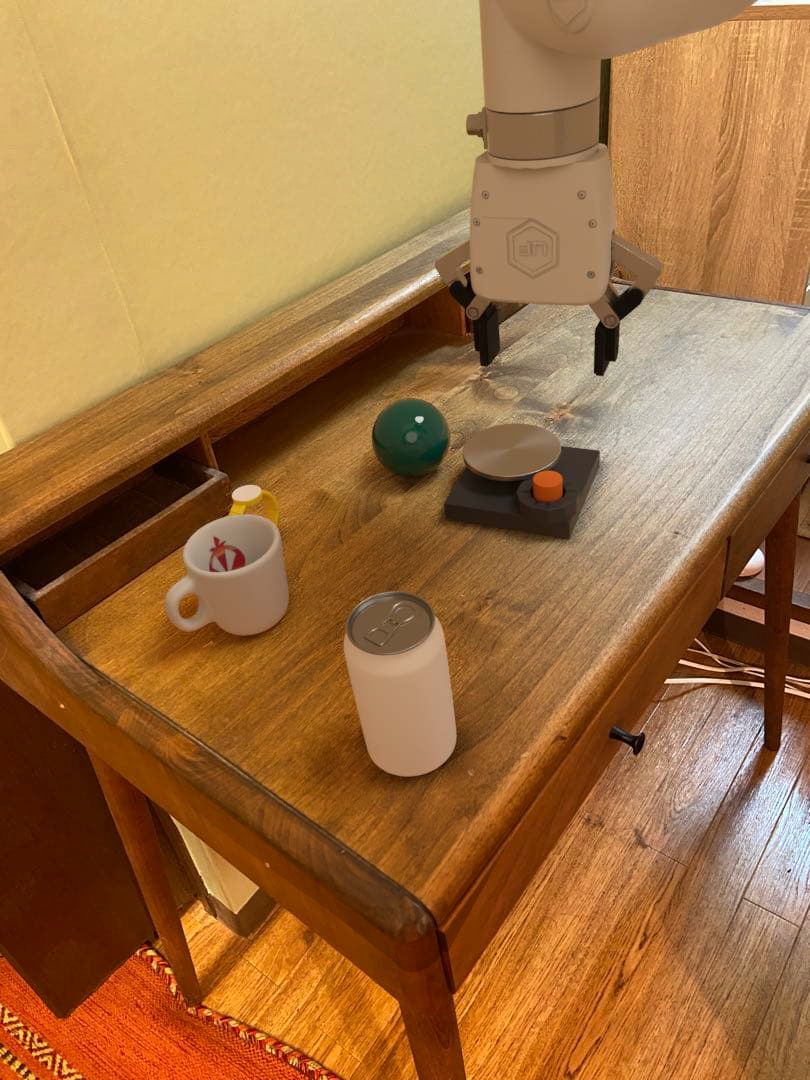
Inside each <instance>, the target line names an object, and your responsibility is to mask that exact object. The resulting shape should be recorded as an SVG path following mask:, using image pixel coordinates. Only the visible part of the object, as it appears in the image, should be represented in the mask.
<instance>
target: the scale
mask: <svg viewBox="0 0 810 1080" xmlns="http://www.w3.org/2000/svg"><path fill="white" fill-rule="evenodd" d="M600 459H601V450H598V449H591V448H580V447H573V446H566V445H565V446H564V445H561V456H560V459H559V461H558V462H557V464H556V465H555V466H554V467H553V468H552V469H550V470H549V471H555V472H557V473H559V474H560V475H561V476H562V478H563V494H562V497H561V498H560V499H559V500H557V501H552V502H544V501H538V500H536V499H535V498H534V496H533V478H530V479H526V480H520V481H496V480H491V479H487V478H484V477H481V476H479V475H477V474H475V473H473V472H472V471H471V470H470V469H469V468H468V467H467V466H466V467H465V468H464V469H463V471H462V473H461V474H460V476H459V478H458V480H456V482H455V485H454V486H453V488H452V489H451V491H450V493H449V494H448V496H447V498H446V499H445V501H444V502H443V509H444V511H443V512H444V519H445V520H448V521H453V522H460V523H465V524H473V525H480V526H486V527H491V528H496V529H497V528H498V529H505V530H509V531H515V532H516V531H517V532H523V533H528V534H529V533H530V534H536V535H542V536H549V537H554V538H561V539H566V540H570V539H571V536H572V534H573V532H574V529H575V527H576V525H577V522H578V520H579V517H580V515H581V512H582V510H583V508H584V505H585V502H586V500H587V497H588V496H589V492H590V490H591V488H592V486H593V483H594V481H595V478H596V476H597V474H598V471H599V469H600V462H601V461H600Z"/></svg>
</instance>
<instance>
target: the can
mask: <svg viewBox="0 0 810 1080" xmlns="http://www.w3.org/2000/svg"><path fill="white" fill-rule="evenodd" d="M435 614H436V613H435V610H434V608H433V606H432V605H431V604H430V603H429V602H428V600H427V599H425V598H424V597H422V596H421V595H418V594H416V593H413V592H410V591H405V590H388V591H382V592H379V593H375V594H373V595H370V596H368V597H366V598H365V599H363V600H361V601H360V602H358V603H357V604H356V605H355V606H354V607H353V608H352V610H351V611H350V612H349V614H348V616H347V618H346V620H345V621H346V622H345V635H344V637H343V638H344V639H343V652H344V658H345V663H346V666H347V667H346V668H347V671H348V676H349V679H350V684H351V688H352V693H353V697H354V701H355V705H356V709H357V713H358V718H359V722H360V726H361V730H362V734H363V738H364V742H365V745H366V750H367V753H368V756H369V757H370V759H371V761H372V762H373V763H374V764H375V765H376V766H377V767H378V768H379V769H381V770H382V771H384V772H386V773H388V774H390V775H395V776H399V777H418V776H421V775H422V776H423V775H425V774H429V773H431V772H432V771H435V770H436V769H438V768H439V767H442V765H443V764H444V763H445V762H446V761H448V759H449V758H450V757H451V755H452V754H453V752H454V749H455V747H456V744H457V738H458V737H457V725H456V715H455V707H454V701H453V691H452V684H451V677H450V667H449V662H448V661H449V660H448V653H447V646H446V640H445V633H444V629H443V626H442V624H441V622H440V620H439V619H438V617H437V616H436V615H435Z"/></svg>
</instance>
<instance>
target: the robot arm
mask: <svg viewBox="0 0 810 1080" xmlns="http://www.w3.org/2000/svg"><path fill="white" fill-rule="evenodd" d="M758 1H759V0H478V6H479V7H478V8H479V24H480V25H479V29H480V45H481V63H482V64H481V65H482V82H483V83H482V84H483V102H484V103H483V104H484V106H483V107H481V111H478V112H477V113H469V114H468V115H467V116H466V121H465V130H466V134H467V135H468V136H477V137H478V138H481V139H482V142H483V149H484V152H482V153H481V154H479V155H478V156H477V157H476V158H475V160H474V161H475V162H474V167H473V176H472V185H471V195H470V196H471V197H470V216H469V217H470V218H469V238H467V239H465V240H464V241H462V242H460V243H459V244H457V245H456V246H454V247H452V248H451V249H449V250H447V251H446V252H444V253H443V254H442V255H440V256H439V258H437V260H436V261H435V262H434V268H435V270H436V272H437V273H438V275H439V276H440V278H441V279H442V281H443V282H444V284H445V285H446V286H447V287H448V292H449V295H450V296H451V297H452V298H453V299H454V300H455V301H456V302H457V303H458V304H459V305H460V306H461V307H462V308H463V309H464V310H465V315H466V317H467V318H468V319H470V320H472V331H473V344H474V351H475V352H479V364H480V367H489V366H491V365H492V363H493V362H494V360H495V359H496V357H497V356H498V355H499V354H500V350H501V339H500V337H501V336H500V335H501V334H500V319H499V318H500V317H499V315H500V314H499V308H497V304H493V302H497V303H510V304H511V303H512V304H525V305H527V304H528V305H545V306H546V305H548V306H549V305H550V306H572V307H580V306H581V307H582V306H589V307H590V309H591V310H592V311H593V313H594V314H595V316H596V317H597V318H598V320H599V321H598V322H597V325H596V326H595V329H594V344H593V345H594V348H593V375H595V376H596V377H604V376H605V373H606V372H607V369H608V368H609V365H610V363H611V362H613V363H614V362H616V361H617V359H618V356H619V351H620V327H621V322H622V320H624V318H626V317H627V316H628V315H629V314H630V313H632V312H633V311H635V309H636V308H638V307H639V306H640V305H641V304H642V302H643V300H644V299H645V298H646V296H647V295H649V292H650V291H651V289H653V287H654V285H655V284H656V282H657V281H658V280H659V278H660V276H661V274H662V272H663V269H664V264H663V262H662V261H661V260H659V259H658V258H656V257H654V256H652V255H651V254H649V253H648V252H646V251H644V250H643V249H641V248H640V247H637V246H636V245H634V243H633V244H632V243H631V242H630V241H628V240H626V239H625V238H623V237H621V236H620V235H618V234H617V224H616V221H617V220H616V206H615V204H616V203H615V190H614V189H615V188H614V181H613V172H612V165H611V159H610V153H609V149H608V146H607V145H606V144H604V143H599V137H600V105H601V104H600V103H601V102H600V99H601V96H600V94H601V65H602V60H607V59H614V58H618V57H621V56H625V55H628V54H633V53H635V52H638V51H641V50H645V49H648V48H652V47H655V46H657V45H659V44H661V43H665V42H667V41H672V40H674V39H678V38H682V37H685V36H688V35H692V34H695V33H699V32H702V31H706V30H709V29H712V28H715V27H718V26H720V25H722V24H724V23H726V22H728V21H730V20H732V19H734V18H735V17H737V16H739V15H740V14H742V13H743V12H745V11H746V10H747V9H749V8H751V6H753V5H754V4H755V3H757V2H758ZM468 261H469V275H470V278H469V277H467V276H466V275H465V274H464V272H463V270H462V268H461V265H463V264H465V263H466V262H468ZM616 264H618V265H619V266H621V267H623V268H624V269H625V270H627V271H629V272H631V273H632V274H633V275H634V276H635V279H634V281H633V283H632V284H631V285H630V286H629V287H628V288H626V289H625V290H624V291H623V292H622V293H619V291H618V290H617V289H616V287H615V286H614V284H613V283H612V282H611V280H612V278H613V277H614V274H615V269H616Z"/></svg>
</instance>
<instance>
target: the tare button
mask: <svg viewBox="0 0 810 1080" xmlns="http://www.w3.org/2000/svg"><path fill="white" fill-rule="evenodd" d="M562 494H563V478H562V476H561V475H560V474H559V473H557V472H555V471H542V472H539V473H537V474H536V475H535V476H534V477H533V496H534V498H535V499H536V500H538V501H544V502H552V501H557V500H559V499H560V498H561V497H562Z"/></svg>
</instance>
